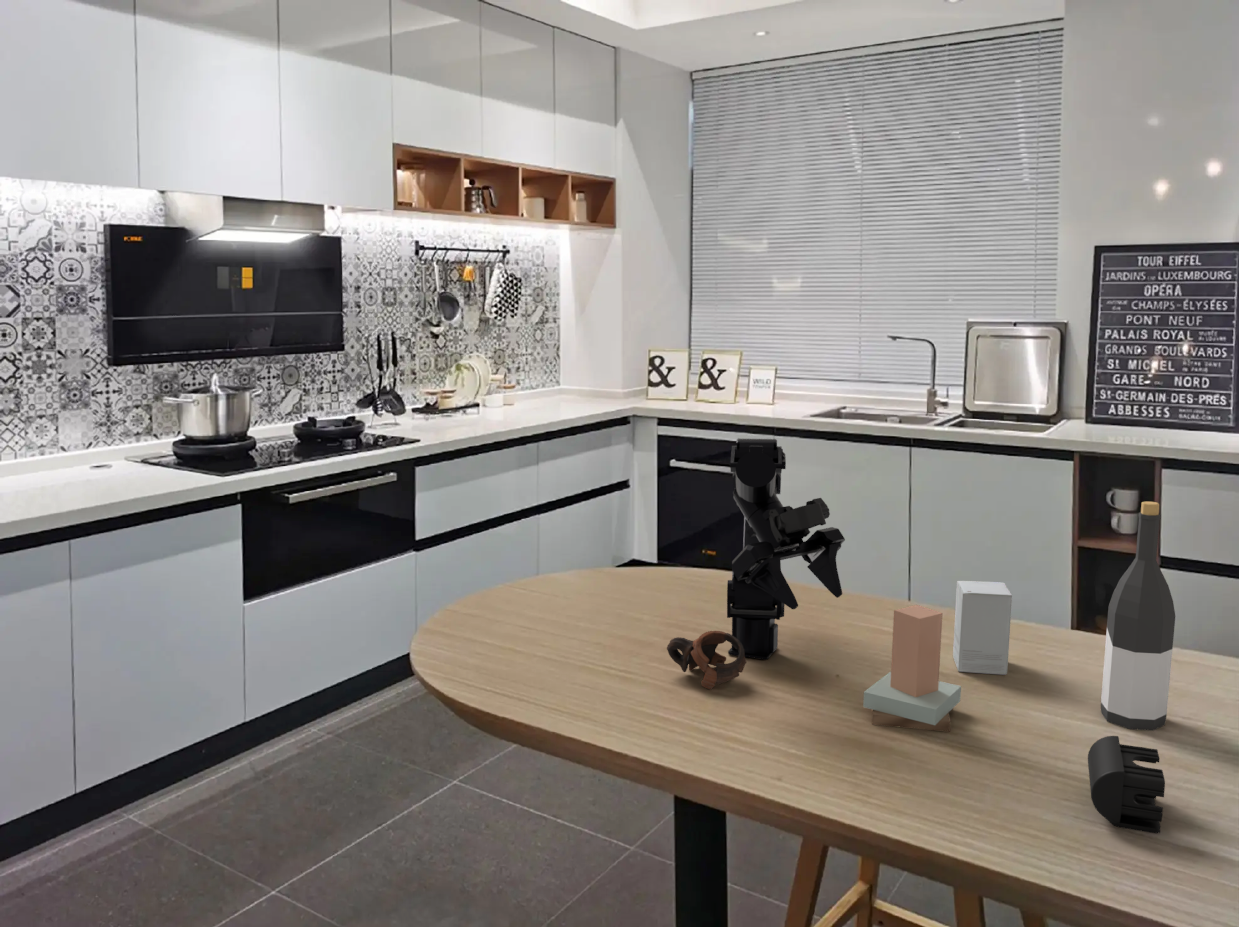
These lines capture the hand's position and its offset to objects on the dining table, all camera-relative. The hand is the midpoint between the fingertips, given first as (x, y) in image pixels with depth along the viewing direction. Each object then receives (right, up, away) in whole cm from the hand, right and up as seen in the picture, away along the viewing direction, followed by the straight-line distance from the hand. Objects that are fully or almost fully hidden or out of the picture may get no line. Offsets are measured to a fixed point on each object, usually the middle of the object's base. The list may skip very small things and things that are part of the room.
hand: (818, 601), depth 151 cm
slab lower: (+12, -16, -5) cm, 20 cm away
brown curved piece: (-15, -13, +8) cm, 22 cm away
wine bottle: (+41, -15, -7) cm, 45 cm away
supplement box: (+27, -12, +13) cm, 32 cm away
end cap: (+28, -20, -32) cm, 47 cm away
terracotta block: (+12, -11, -6) cm, 17 cm away
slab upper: (+12, -13, -6) cm, 19 cm away
